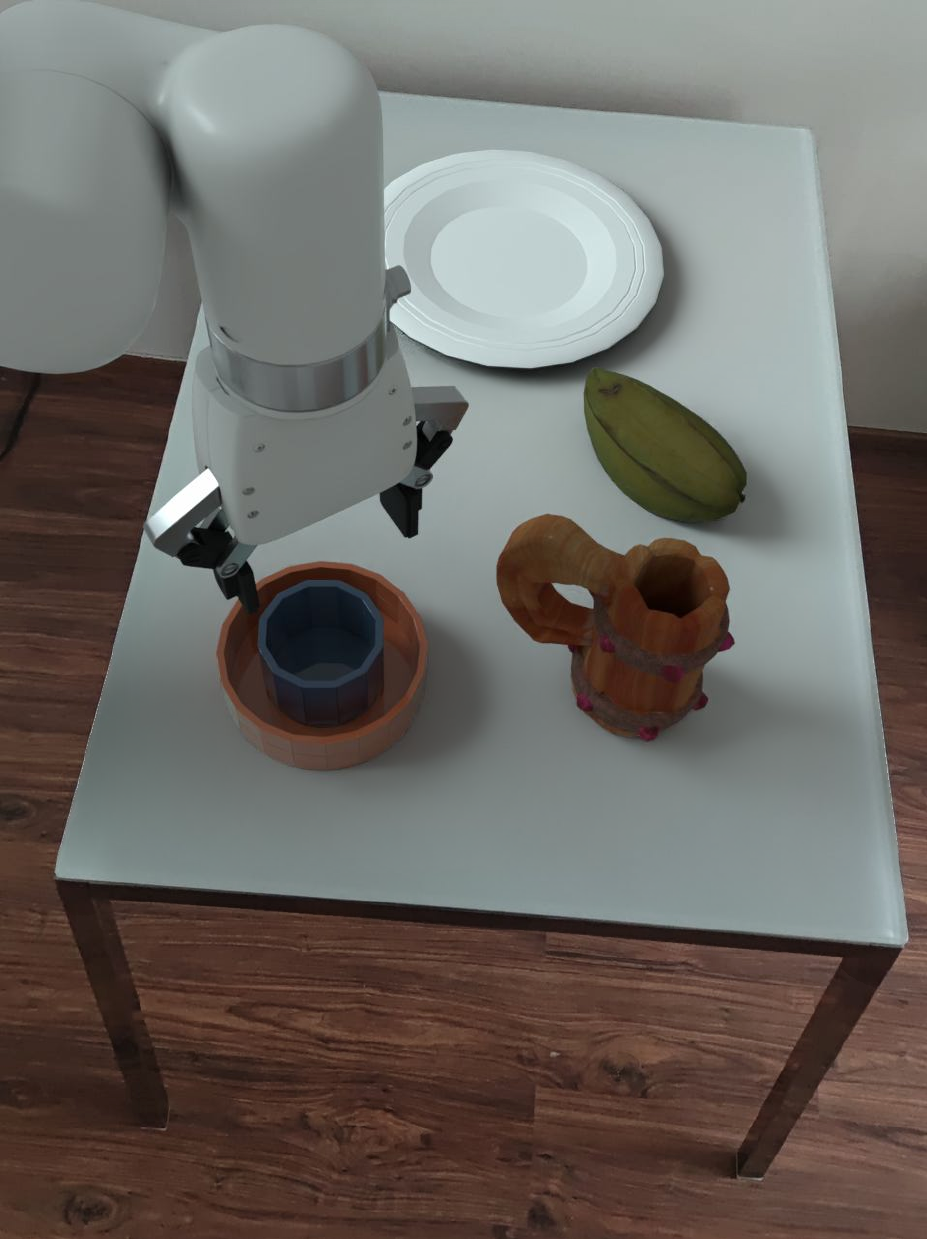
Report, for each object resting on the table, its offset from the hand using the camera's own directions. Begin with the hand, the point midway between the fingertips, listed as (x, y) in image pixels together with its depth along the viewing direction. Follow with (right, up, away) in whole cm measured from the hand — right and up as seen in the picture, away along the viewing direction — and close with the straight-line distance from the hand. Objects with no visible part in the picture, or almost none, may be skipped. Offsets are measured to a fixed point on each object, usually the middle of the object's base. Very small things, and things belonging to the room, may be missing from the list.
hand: (322, 555), depth 66 cm
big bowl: (-1, -7, +13) cm, 15 cm away
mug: (+16, -8, +14) cm, 23 cm away
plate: (+11, +25, +33) cm, 43 cm away
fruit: (+22, +7, +23) cm, 33 cm away
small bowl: (-1, -7, +13) cm, 14 cm away
